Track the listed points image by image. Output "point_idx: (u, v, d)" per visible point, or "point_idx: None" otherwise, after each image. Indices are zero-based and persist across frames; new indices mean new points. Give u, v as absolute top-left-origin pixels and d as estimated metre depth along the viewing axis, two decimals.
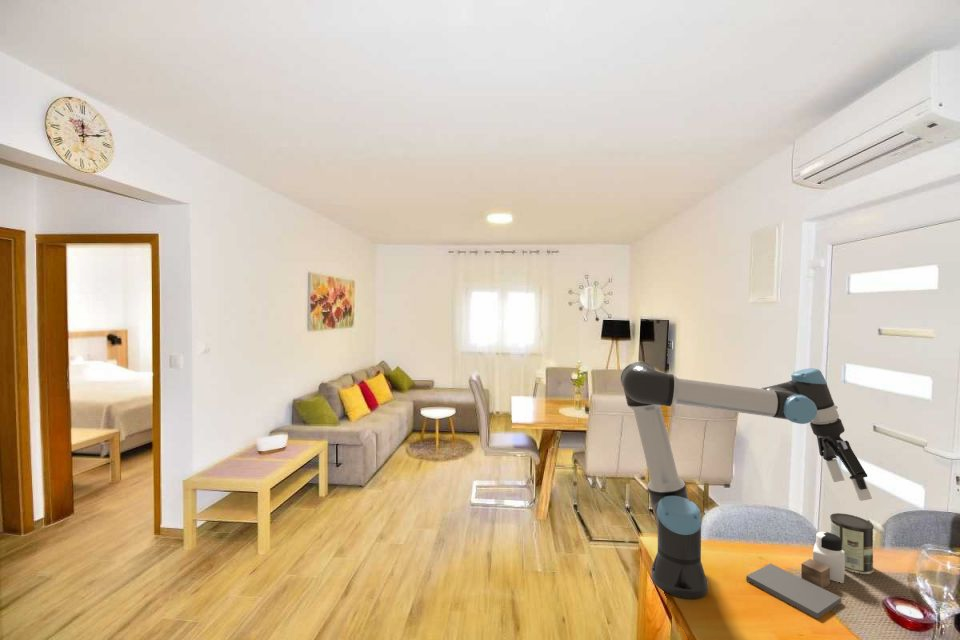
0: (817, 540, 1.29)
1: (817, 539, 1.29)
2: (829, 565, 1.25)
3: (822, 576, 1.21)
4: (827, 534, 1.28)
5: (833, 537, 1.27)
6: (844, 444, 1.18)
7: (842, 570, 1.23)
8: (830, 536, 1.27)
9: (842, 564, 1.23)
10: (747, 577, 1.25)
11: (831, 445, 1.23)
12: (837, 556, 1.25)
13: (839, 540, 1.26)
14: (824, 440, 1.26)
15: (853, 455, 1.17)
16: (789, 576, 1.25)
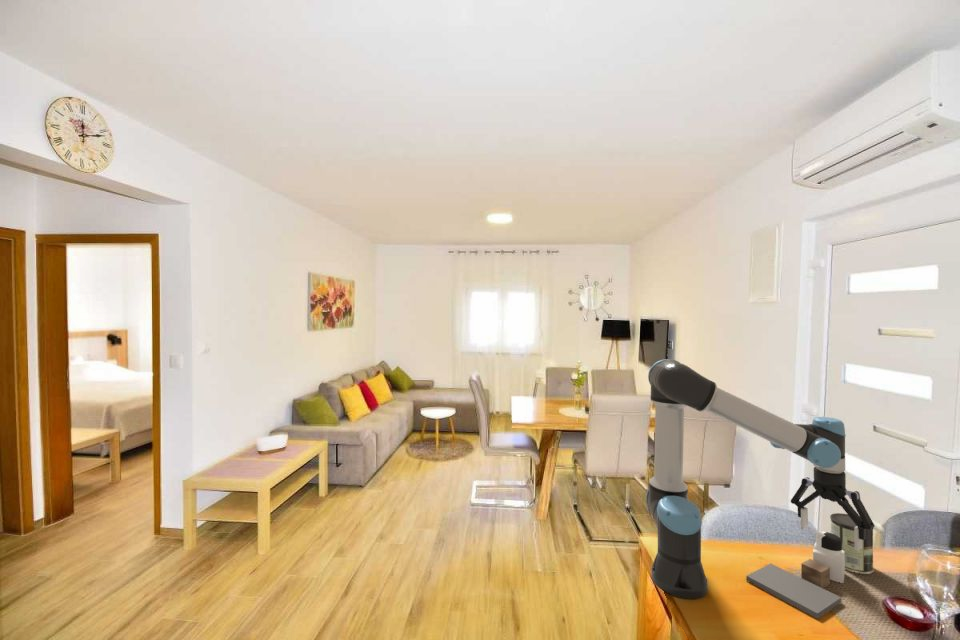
0: (817, 540, 1.29)
1: (817, 539, 1.29)
2: (829, 565, 1.25)
3: (822, 576, 1.21)
4: (827, 534, 1.28)
5: (833, 537, 1.27)
6: (857, 494, 1.22)
7: (842, 570, 1.23)
8: (830, 536, 1.27)
9: (842, 564, 1.23)
10: (747, 577, 1.25)
11: (836, 494, 1.25)
12: (837, 556, 1.25)
13: (839, 540, 1.26)
14: (823, 489, 1.28)
15: (863, 506, 1.21)
16: (789, 576, 1.25)
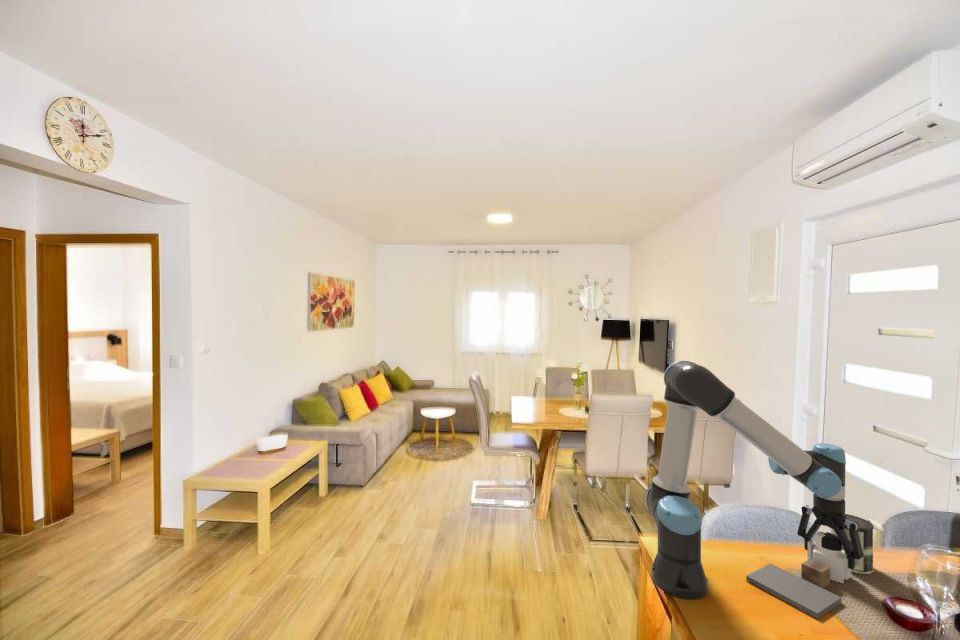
0: (817, 540, 1.29)
1: (817, 539, 1.29)
2: (829, 565, 1.25)
3: (822, 576, 1.21)
4: (827, 534, 1.28)
5: (833, 536, 1.27)
6: (857, 526, 1.22)
7: (842, 570, 1.23)
8: (830, 536, 1.27)
9: (842, 564, 1.23)
10: (747, 577, 1.25)
11: (835, 522, 1.25)
12: (837, 556, 1.25)
13: (839, 540, 1.26)
14: (822, 515, 1.28)
15: (858, 537, 1.22)
16: (789, 576, 1.25)
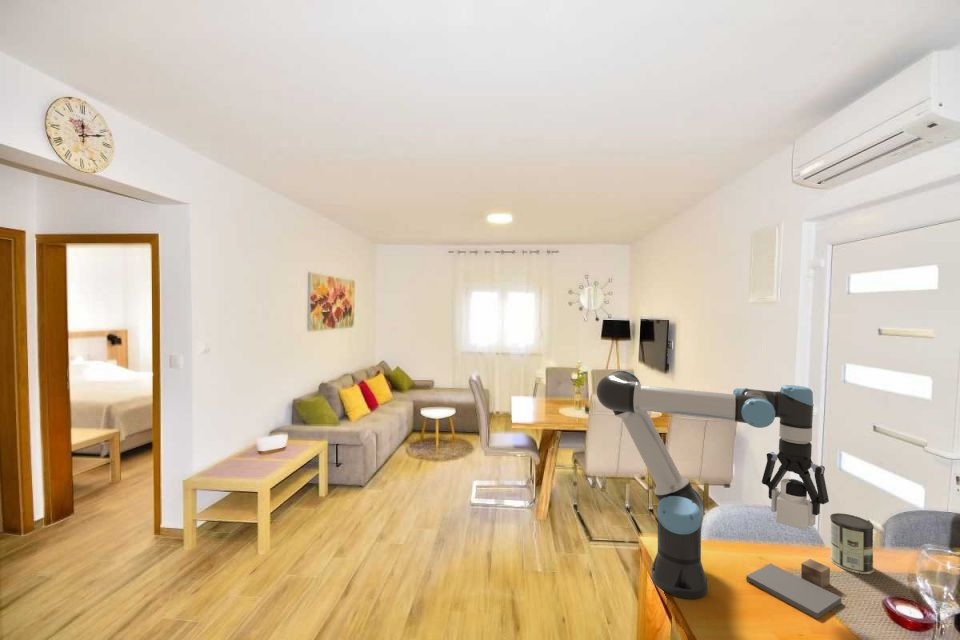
0: (782, 487, 1.22)
1: (782, 486, 1.22)
2: (793, 512, 1.18)
3: (822, 576, 1.21)
4: (792, 480, 1.21)
5: (798, 482, 1.20)
6: (823, 469, 1.15)
7: (806, 516, 1.16)
8: (795, 482, 1.20)
9: (806, 510, 1.16)
10: (747, 577, 1.25)
11: (800, 467, 1.18)
12: (801, 502, 1.18)
13: (804, 485, 1.19)
14: (787, 460, 1.21)
15: (824, 481, 1.15)
16: (789, 576, 1.25)
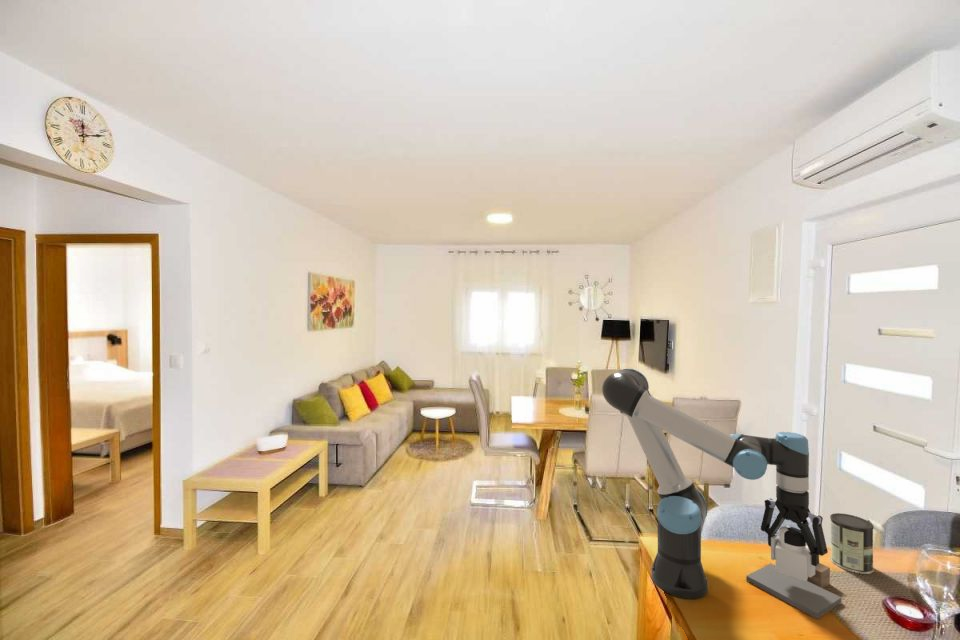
0: (780, 535, 1.21)
1: (780, 534, 1.21)
2: (792, 562, 1.17)
3: (822, 576, 1.21)
4: (791, 529, 1.20)
5: (797, 531, 1.19)
6: (820, 520, 1.14)
7: (805, 567, 1.15)
8: (794, 530, 1.19)
9: (805, 560, 1.15)
10: (747, 577, 1.25)
11: (798, 516, 1.17)
12: (800, 552, 1.17)
13: None
14: (785, 509, 1.20)
15: (822, 531, 1.14)
16: (789, 576, 1.25)
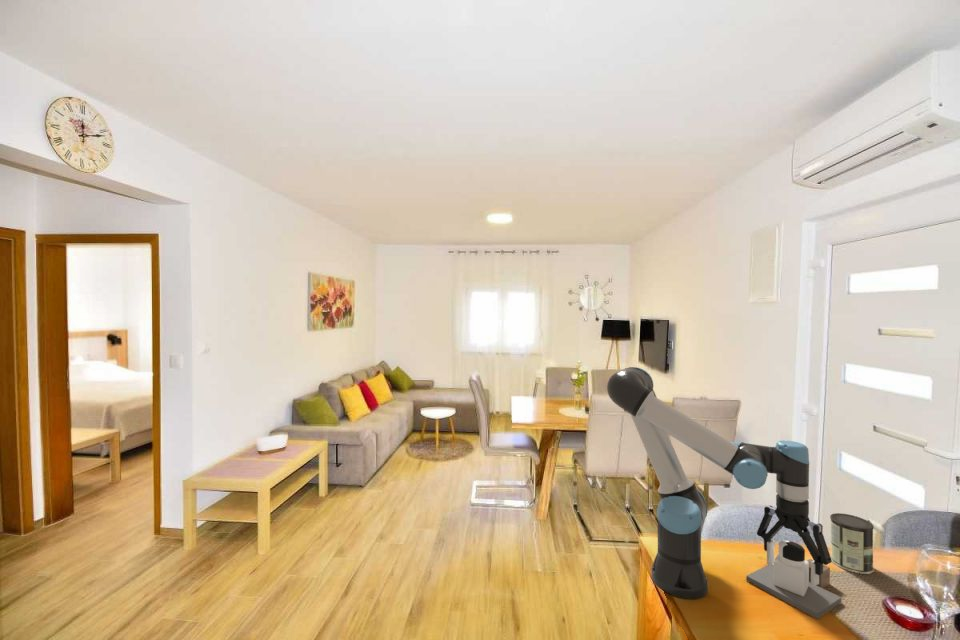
0: (779, 549, 1.21)
1: (779, 548, 1.21)
2: (790, 576, 1.18)
3: (822, 576, 1.21)
4: (790, 543, 1.20)
5: (795, 546, 1.19)
6: (820, 527, 1.14)
7: (803, 582, 1.15)
8: (793, 545, 1.19)
9: (803, 576, 1.15)
10: (747, 577, 1.25)
11: (798, 525, 1.17)
12: (798, 567, 1.17)
13: (801, 550, 1.18)
14: (785, 517, 1.20)
15: (824, 539, 1.14)
16: None
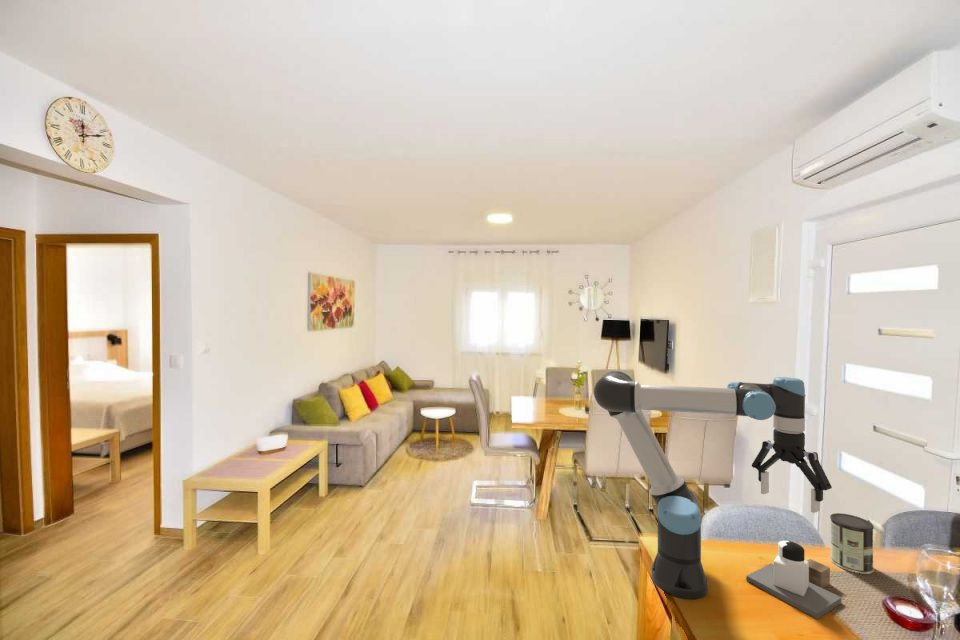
0: (779, 549, 1.21)
1: (779, 548, 1.21)
2: (789, 576, 1.18)
3: (822, 576, 1.21)
4: (789, 543, 1.21)
5: (795, 546, 1.19)
6: (815, 455, 1.18)
7: (803, 582, 1.15)
8: (792, 545, 1.19)
9: (803, 576, 1.15)
10: (747, 577, 1.25)
11: (794, 456, 1.21)
12: (798, 567, 1.17)
13: (801, 550, 1.18)
14: (782, 451, 1.24)
15: (821, 467, 1.17)
16: None
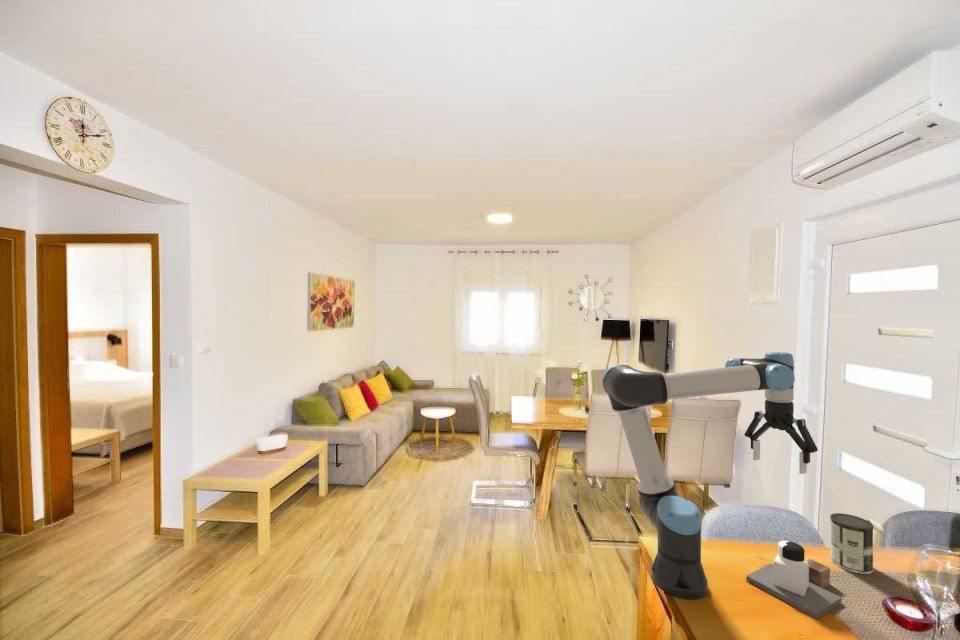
0: (779, 549, 1.21)
1: (779, 548, 1.21)
2: (789, 576, 1.18)
3: (822, 576, 1.21)
4: (789, 543, 1.21)
5: (795, 546, 1.19)
6: (803, 421, 1.29)
7: (803, 582, 1.15)
8: (792, 545, 1.19)
9: (803, 576, 1.15)
10: (747, 577, 1.25)
11: (784, 423, 1.32)
12: (798, 567, 1.17)
13: (801, 550, 1.18)
14: (773, 419, 1.35)
15: (808, 432, 1.28)
16: None
